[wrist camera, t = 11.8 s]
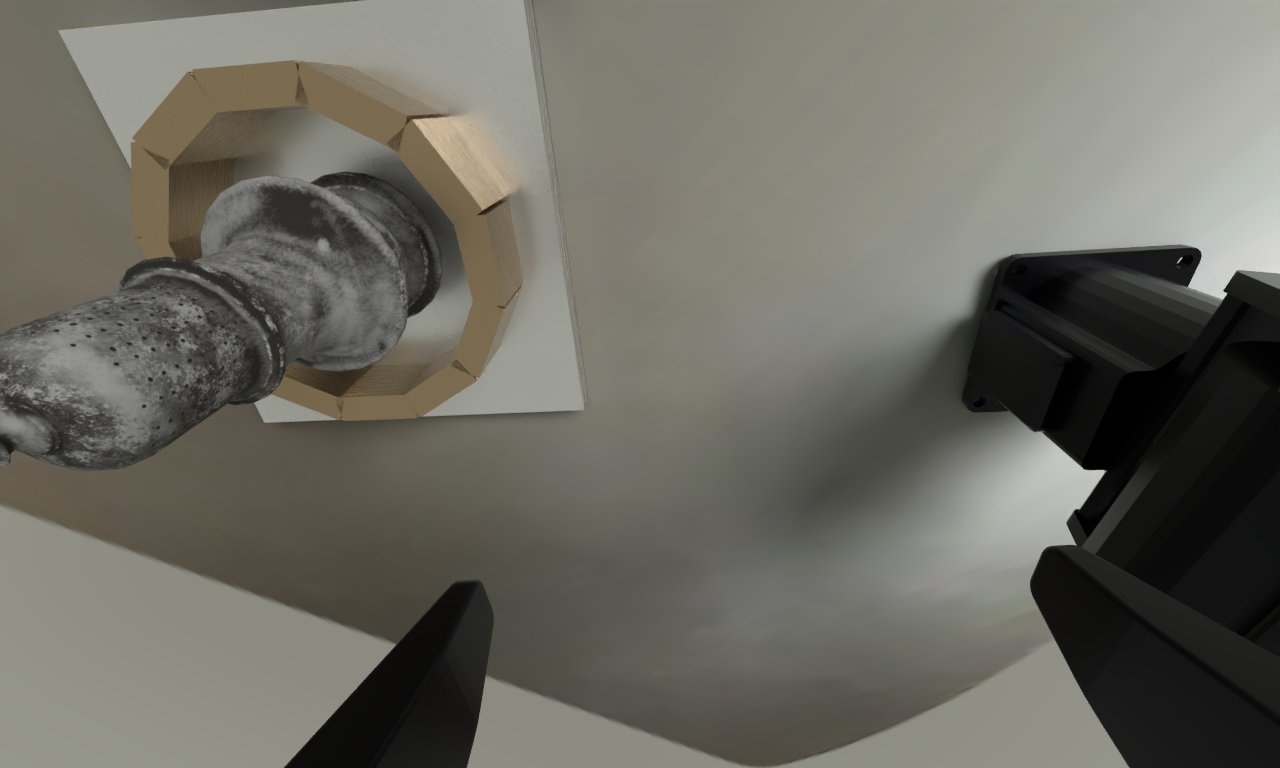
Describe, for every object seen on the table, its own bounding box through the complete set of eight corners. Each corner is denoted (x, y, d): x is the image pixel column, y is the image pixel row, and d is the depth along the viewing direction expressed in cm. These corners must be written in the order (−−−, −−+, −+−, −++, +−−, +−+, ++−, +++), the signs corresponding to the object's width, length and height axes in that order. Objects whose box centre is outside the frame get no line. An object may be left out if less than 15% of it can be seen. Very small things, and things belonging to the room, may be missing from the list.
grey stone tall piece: (343, 344, 20) (-16, 620, 9) (246, 192, 17) (-420, 339, 6) (478, 305, 19) (247, 565, 8) (398, 137, 16) (-104, 206, 5)
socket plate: (530, -8, 15) (494, -37, 12) (587, 395, 22) (575, 446, 19) (97, 35, 16) (-45, 18, 13) (282, 407, 23) (220, 458, 20)
